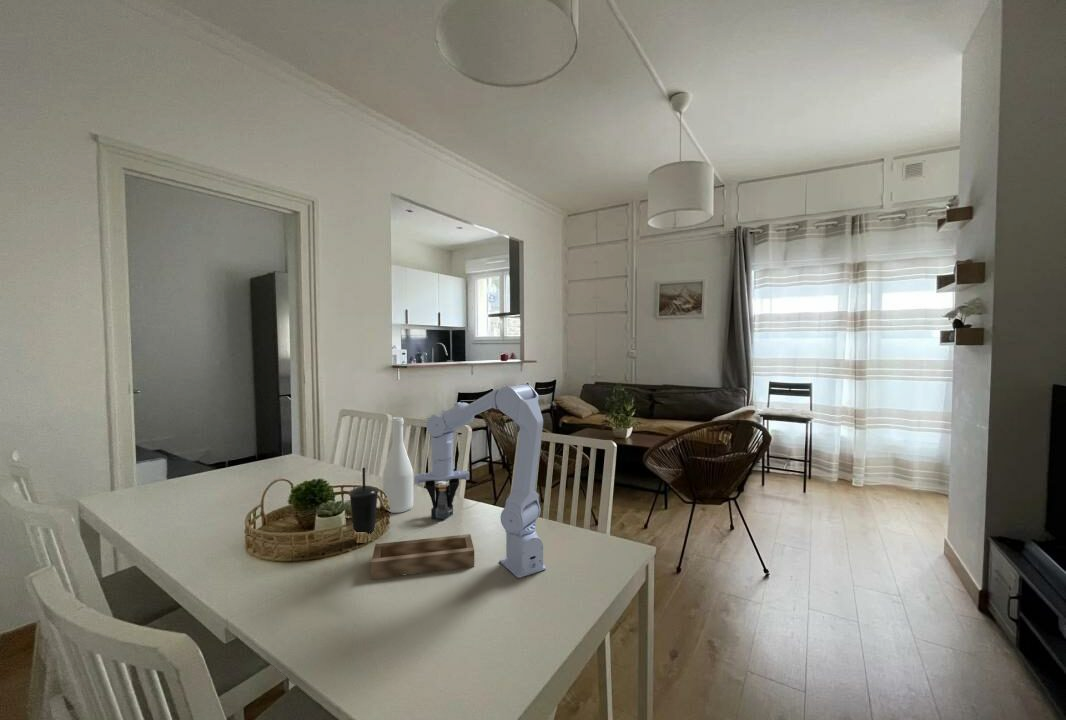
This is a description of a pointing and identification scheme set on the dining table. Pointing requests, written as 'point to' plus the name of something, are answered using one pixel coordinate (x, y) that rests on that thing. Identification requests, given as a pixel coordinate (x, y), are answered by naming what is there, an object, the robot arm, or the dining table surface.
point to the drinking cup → (364, 506)
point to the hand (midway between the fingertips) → (442, 507)
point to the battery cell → (442, 501)
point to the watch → (433, 511)
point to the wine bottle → (398, 472)
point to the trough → (422, 556)
